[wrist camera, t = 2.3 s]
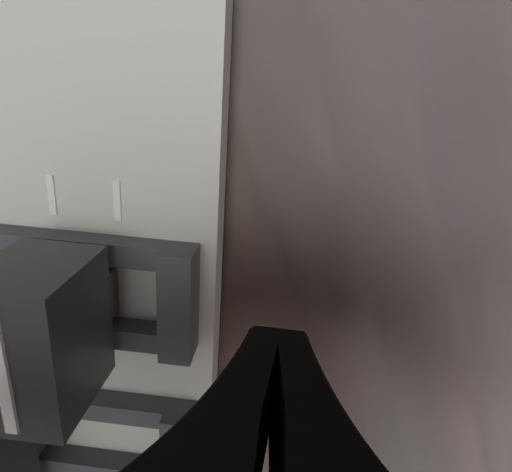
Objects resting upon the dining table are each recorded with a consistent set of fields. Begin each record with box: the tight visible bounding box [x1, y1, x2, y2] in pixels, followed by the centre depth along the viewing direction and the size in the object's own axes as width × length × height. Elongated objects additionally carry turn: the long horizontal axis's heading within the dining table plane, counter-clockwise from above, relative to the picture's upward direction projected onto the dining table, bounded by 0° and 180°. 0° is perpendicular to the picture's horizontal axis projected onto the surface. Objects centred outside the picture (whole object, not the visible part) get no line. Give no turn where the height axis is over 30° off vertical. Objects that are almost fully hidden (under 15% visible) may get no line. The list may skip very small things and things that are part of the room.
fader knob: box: [0, 237, 120, 446], centre depth 11 cm, size 2×4×4 cm, turn 176°
